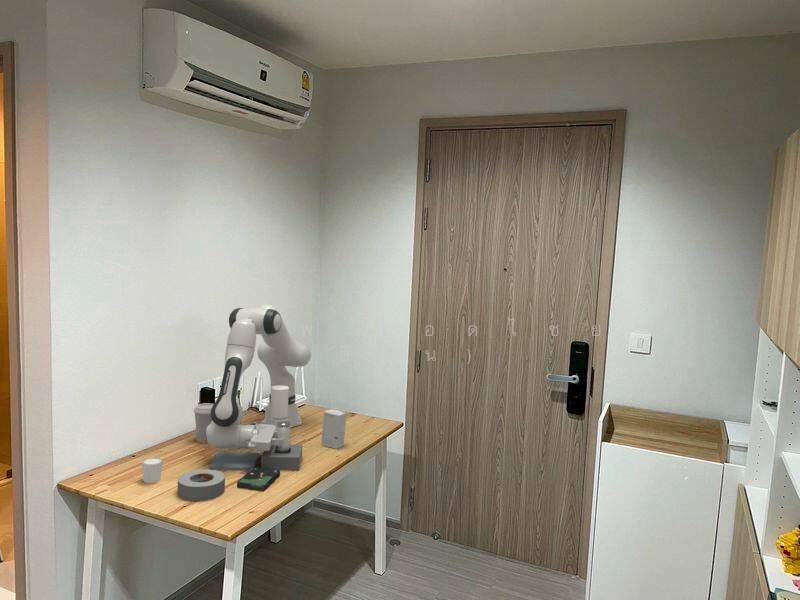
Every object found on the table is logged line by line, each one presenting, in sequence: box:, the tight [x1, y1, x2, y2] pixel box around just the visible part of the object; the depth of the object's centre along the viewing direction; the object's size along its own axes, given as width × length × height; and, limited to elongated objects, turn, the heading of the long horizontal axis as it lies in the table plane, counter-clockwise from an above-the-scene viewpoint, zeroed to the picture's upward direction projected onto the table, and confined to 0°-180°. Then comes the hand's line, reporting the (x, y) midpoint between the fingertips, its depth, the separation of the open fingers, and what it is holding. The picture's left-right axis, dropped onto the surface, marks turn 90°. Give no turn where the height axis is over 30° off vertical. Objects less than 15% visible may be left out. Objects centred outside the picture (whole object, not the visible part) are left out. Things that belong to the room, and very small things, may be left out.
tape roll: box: [176, 468, 226, 502], centre depth 203 cm, size 15×15×5 cm
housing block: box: [261, 444, 303, 471], centre depth 232 cm, size 14×14×5 cm
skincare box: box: [320, 408, 348, 450], centre depth 254 cm, size 8×6×15 cm
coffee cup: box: [193, 402, 214, 444], centre depth 251 cm, size 10×10×15 cm
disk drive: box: [236, 466, 281, 492], centre depth 214 cm, size 10×3×15 cm
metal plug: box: [276, 421, 291, 454], centre depth 231 cm, size 5×5×16 cm
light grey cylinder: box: [141, 457, 164, 484], centre depth 209 cm, size 7×7×7 cm
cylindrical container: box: [270, 385, 289, 439], centre depth 249 cm, size 7×7×25 cm
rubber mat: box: [208, 451, 260, 471], centre depth 231 cm, size 16×16×1 cm
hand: (285, 438), depth 231 cm, fingers closed on metal plug, 5 cm apart
